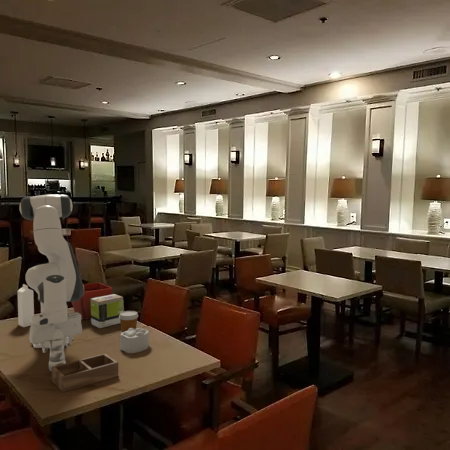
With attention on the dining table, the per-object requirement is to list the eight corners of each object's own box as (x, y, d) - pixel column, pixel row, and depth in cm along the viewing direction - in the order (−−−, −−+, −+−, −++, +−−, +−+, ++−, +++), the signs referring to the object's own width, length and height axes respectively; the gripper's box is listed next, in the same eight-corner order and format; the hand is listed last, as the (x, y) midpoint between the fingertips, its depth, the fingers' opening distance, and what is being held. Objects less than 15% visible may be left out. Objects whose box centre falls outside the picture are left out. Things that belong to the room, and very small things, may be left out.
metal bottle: (51, 367, 182) (50, 320, 180) (68, 367, 182) (67, 320, 180) (46, 374, 175) (45, 325, 173) (63, 373, 176) (62, 325, 174)
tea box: (115, 318, 249) (115, 293, 247) (124, 323, 241) (124, 296, 240) (90, 324, 238) (90, 297, 237) (99, 328, 231) (98, 301, 230)
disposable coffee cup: (132, 341, 213) (132, 317, 212) (115, 338, 217) (115, 315, 215) (142, 334, 222) (141, 311, 221) (125, 332, 226) (125, 309, 224)
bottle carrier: (51, 381, 169) (51, 367, 169) (105, 366, 184) (104, 353, 183) (63, 392, 160) (62, 377, 160) (118, 375, 175) (118, 362, 174)
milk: (23, 327, 232) (21, 286, 230) (18, 324, 236) (16, 284, 234) (34, 324, 236) (33, 284, 234) (29, 322, 240) (28, 282, 238)
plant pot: (99, 308, 268) (98, 281, 266) (113, 316, 253) (113, 287, 252) (68, 314, 255) (67, 286, 254) (81, 322, 241) (80, 292, 239)
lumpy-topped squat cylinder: (117, 348, 204) (117, 330, 203) (141, 341, 213) (141, 324, 212) (130, 354, 197) (129, 335, 196) (153, 347, 206) (153, 329, 205)
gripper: (78, 309, 186) (78, 341, 187) (27, 318, 172) (28, 352, 174) (84, 313, 181) (84, 345, 182) (32, 322, 168) (33, 357, 169)
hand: (56, 349), depth 178 cm, fingers open, 8 cm apart
